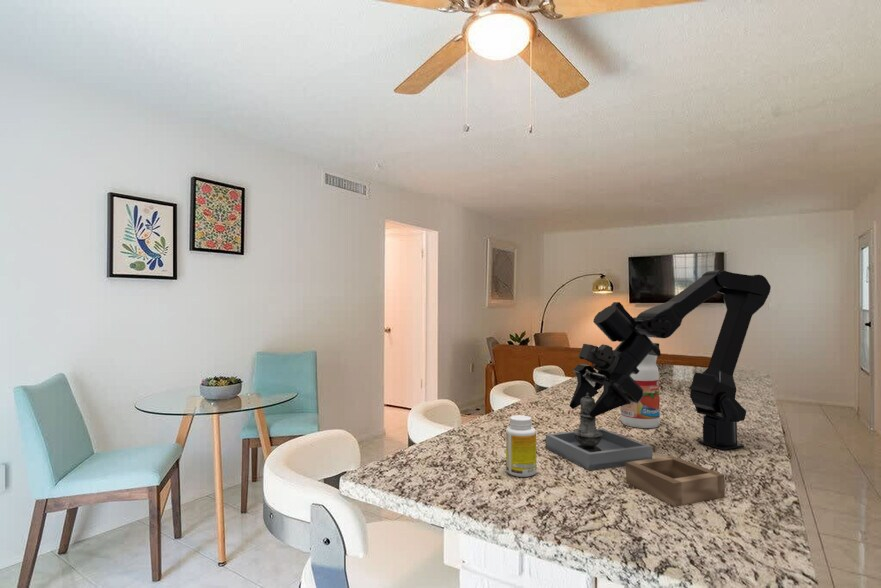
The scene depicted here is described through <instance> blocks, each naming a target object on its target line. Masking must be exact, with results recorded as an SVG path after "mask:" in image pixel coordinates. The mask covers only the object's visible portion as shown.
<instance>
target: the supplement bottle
mask: <svg viewBox="0 0 881 588" xmlns="http://www.w3.org/2000/svg"><path fill="white" fill-rule="evenodd" d="M532 424H533V423H532V417H531V416H528V415H523V414H521V415H520V414H519V415H517V414H516V415H511V416H510V417H509V426H508V427H507V428H506V430H505V457H506V458H505V459H506V460H505V461H506V462H505V463H506V471H507V473H508V474H509V475H511V476H513V477H519V478H528V477H532V476H534V475H535V474H536V473H537V430H536V429H535V427H533V425H532Z"/></svg>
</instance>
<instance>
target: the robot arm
mask: <svg viewBox="0 0 881 588" xmlns="http://www.w3.org/2000/svg"><path fill="white" fill-rule="evenodd" d="M771 287H772V286H771V284H770V282H769V281H768V279H767V278H766V277H765V276H764V275H762V274H742V273H737V272H736V273H735V272H731V271H728V270H724V269H720V270H719V269H717V270H710V271H709V270H708V271H706V272H704V273H703V274H702V275H701V277H699V278H698V279H697V280H695V281H694V282H692V283H691V284H690V285H689V286H687V287H686V288H684V289H683V290H681V291H680V292H679V293H678V294H676V295H675V296H673V297H672V298H670V299H669V300H668V301H666V302H663V303H662V304H658V305H655V306H652V307H650V308H648V309H646V310H644V311H642V312H640V313H639V314H637V316H636V317H635V318H633V316H632V315H631V314H630V313H629V312H628V310H627V309H625V307H624V305H623V304H622V302H620V301H615V302H612V304H610V305H609V306H606V307H605V308H603V309H602V310H601V311H598V313H597V314H596V315H595V316H594V318H593V323H594V325H595V326H596V327H597V328H598V329H599V330H600V331H601V332H602V333H603V334H604V335H605V336H606V337H607V338H608V340H609V341H611V342H613V343H614V342H619V344H618V345H617V346H616V347H615V349H613V347H612V346H610V345H608V344H604V343H603V344H600V346H598V345H594V344H587V343H583V345H582V347H581V349H580V351H579V354H578V358H579V359H580V360H585V361H587V362H589V363H591V364H592V365H589V364H585V363H578V364H576V366H575V367H574V368H573V369H572V371H573V373H574V376H575V378H576V379H577V380H576V381H577V384H576V388H575V391H574V393H573V395H572V398H571V400H570V403H569V407H570V408H571V409H572V410H575V409H576V408H577V407H580V406H581V399H582V398H583V397H585V396H587V395H586V394H587V392H588V393H589V396H590V397H592V398H593V397H595V396H596V395H598V394H599V393H600V392H599V391H598V390H600V389H602V388H603V390H602V393H601V394H600V395H599V397H598V398H597V400H596V401H595V404H594V406H593V407H592V409H591V410H590V412H589V415H590V416H591V417H592V418H593V417H595V418H596V417H598V416H601V415H603V414H605V413H606V412H610V411H612V410H615V409H617V408H621V406H623V405H626V404H630V403H631V402H634V403H637V404H638V403H639V401H640V400H641V399H642V398H643V389H642V388H641V387H640V386H639V385H638V384H637V383H636V382H635V381H634V380H633V379H632V378H631V376H630V375H631V374H638V372H639V370H638V369H637V367H638V366H639V365H640V363H641V362H642V361H643V360H644V359H645V357H646V356H647V355H648V354H649V355H654V356H657V357H660V356H661V355H662V354H661V349H660V343H658V342H654V341H653V340H652V339H651V340H652V341H653V342H654V343H653V342H652V341H651V340H650V339H649V338H648V337H650V338H656V339H667V338H670V337H671V336H672V335H673V334H674V333H675V332H676V331H677V330H678V329H679V328H680V326H681V325H682V322H683V319H684V318H685V317H686V316H687V315H688V314H690V313H691V312H692V311H694V310H695V309H696V308H698V307H699V306H701V305H702V304H703V303H704V302H706V301H708V300H709V299H710V298H711V297H713V296H714V295H716V294H717V293H719V294H722V295H723V301H724V304H725V308H726V311H725V315H724V318H723V322H722V324H721V327H720V331H719V334H718V336H717V340H716V342H715V345H714V349H713V351H712V355H711V357H710V361H709V364H708V367H706V370H704V371H703V372H695V373H694V374H693V378H692V383H691V385H690V386H689V387H688V389H689V390H690V393H689V398H690V399H691V401H692V403H693V405H694V407H695V411H696V413H697V414H701V415H704V416H702V417H703V422H702V439H698V440H697V443H699V444H700V443H701V444H703V445H706V446H710V447H713V448H716V449H719V450H724V451H725V450H731V449H739V448H744V447H745V445H744V444H743V443H740V442H738V423H740V422H741V421H742V422H744V421H745V419H746V415H747V410H746V409H745V408H744V407H743V406H742V405H741V404H740V403H739V401H737V400H736V396H737V386H736V382H735V379H734V373H735V370H736V366H737V364H738V362H739V360H738V359H739V358H740V354H741V351H742V348H743V345H744V342H745V339H746V335H747V333H748V329H749V326H750V323H751V321H752V317H753V316H754V314H755V313H757V312H758V311H759V310H760V309H761V308H762V307H763V306H764V305H765V303H766V302H767V299H768V297H769V296H770V293H771ZM637 330H638V331H637ZM630 401H631V402H630Z"/></svg>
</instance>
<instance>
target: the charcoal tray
mask: <svg viewBox="0 0 881 588" xmlns="http://www.w3.org/2000/svg"><path fill="white" fill-rule="evenodd" d="M596 429H597V430H598V431H600V432H602V434H603V435H602V436H601V440H600V443H599V444H597V445H596V446H597V447H598V448H600V449H601V451H597V452H588V451H586V450H584V449H581V448H579V447H577V446H578V445H581V444H579V443H578V442H577V441H576V438H575V434H574V433H573V431H563V432H556V433H546V434H545V449H546V450H548V451H551V452H552V453H554V454H556V455H558V456H560V457H562V458H563V459H565V460H568V461H570V462H571V463H574V464H576V465H577V466H579V467H580V468H583V469H585V470H587V471H596V470H603V469H609V468H611V469H612V468H617V467H624V466H625V467H626V462H632V461H639V460H646V459H653V446H652V445H649V444H648V443H647V444H646V443H644V442H642V441H639V440H636V439H633V438H630V437H627V436H624V435H623V434H619V433H616V432H614V431H611V430H608V429H605V428H603V427H602V428H601V427H600V428H596Z"/></svg>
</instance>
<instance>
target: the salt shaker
mask: <svg viewBox="0 0 881 588" xmlns="http://www.w3.org/2000/svg"><path fill="white" fill-rule="evenodd" d="M586 395H587V396H585V397H583V398H582V399H581V405H580V412H579V413H578V415H579V416H580V418H579V421H580V423H579V427H578V428H577V429H574V430H573V431H572V432H573V433H574V434H575V438H576V441H577V442H578V443H579V444H581V445H578V446H577V447H579V448H581V449H584V450H586V451H588V452H597V451H601V449H600V448H598V447H597V446H596V445H597V444H599V443H600V440H601V436H602V435H603V434H602V432H600V431H598V430H597V429H598V428H597V426H596V417H593V418H592V417H591V416H590V415H589V412H590V410H591V409H592V407H593V406H594V404H595V403H596V401H595V399H594V398H593V397H590V396H589V393H588V392H587V394H586Z"/></svg>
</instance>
